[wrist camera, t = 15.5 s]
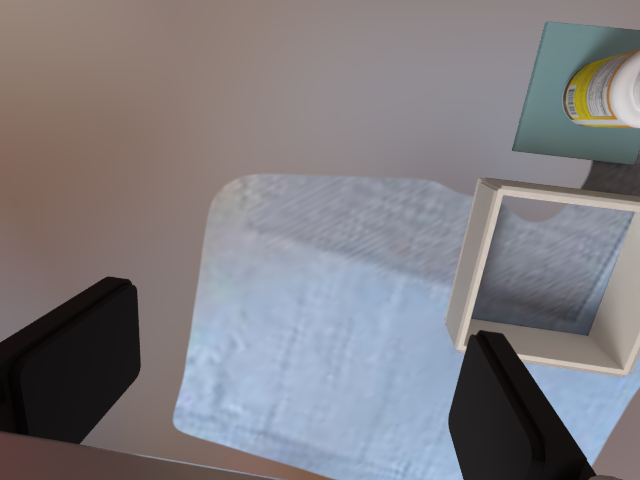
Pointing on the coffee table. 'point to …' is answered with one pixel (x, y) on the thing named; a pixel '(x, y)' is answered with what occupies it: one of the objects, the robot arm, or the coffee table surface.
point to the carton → (539, 344)
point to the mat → (547, 88)
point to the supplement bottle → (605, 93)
